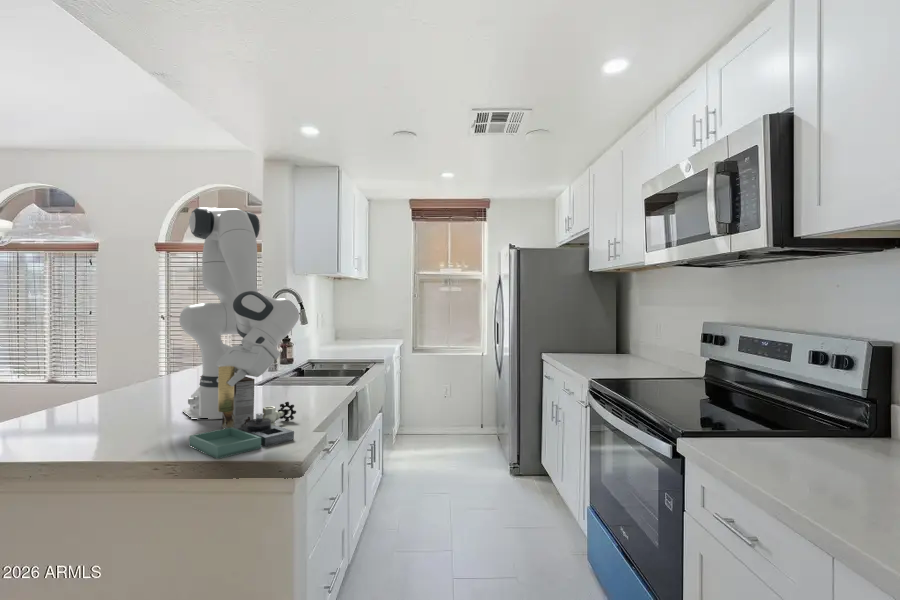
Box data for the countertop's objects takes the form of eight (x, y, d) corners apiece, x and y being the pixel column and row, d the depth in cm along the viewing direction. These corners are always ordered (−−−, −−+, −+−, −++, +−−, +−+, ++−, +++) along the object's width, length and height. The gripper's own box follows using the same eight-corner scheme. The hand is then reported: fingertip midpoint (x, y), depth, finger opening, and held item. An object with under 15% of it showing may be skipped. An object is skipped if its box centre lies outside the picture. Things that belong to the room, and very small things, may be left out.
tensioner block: (237, 436, 145) (237, 414, 145) (265, 430, 152) (265, 409, 152) (265, 446, 136) (265, 423, 136) (293, 439, 143) (294, 417, 143)
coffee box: (221, 428, 155) (221, 376, 155) (241, 424, 160) (242, 374, 160) (233, 433, 149) (234, 380, 149) (254, 429, 153) (255, 377, 153)
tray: (189, 446, 135) (189, 435, 135) (231, 437, 144) (232, 427, 144) (217, 458, 125) (217, 447, 125) (261, 448, 134) (261, 437, 134)
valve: (273, 431, 153) (296, 422, 164) (274, 409, 153) (296, 402, 164) (255, 429, 154) (279, 420, 166) (256, 408, 154) (279, 400, 166)
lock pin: (215, 410, 134) (215, 366, 134) (229, 408, 137) (230, 365, 138) (222, 412, 132) (222, 367, 132) (236, 410, 135) (237, 366, 135)
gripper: (232, 336, 147) (198, 372, 139) (269, 340, 134) (234, 380, 126) (246, 350, 150) (214, 386, 142) (284, 355, 137) (250, 395, 130)
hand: (224, 383), depth 134 cm, fingers closed on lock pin, 4 cm apart
